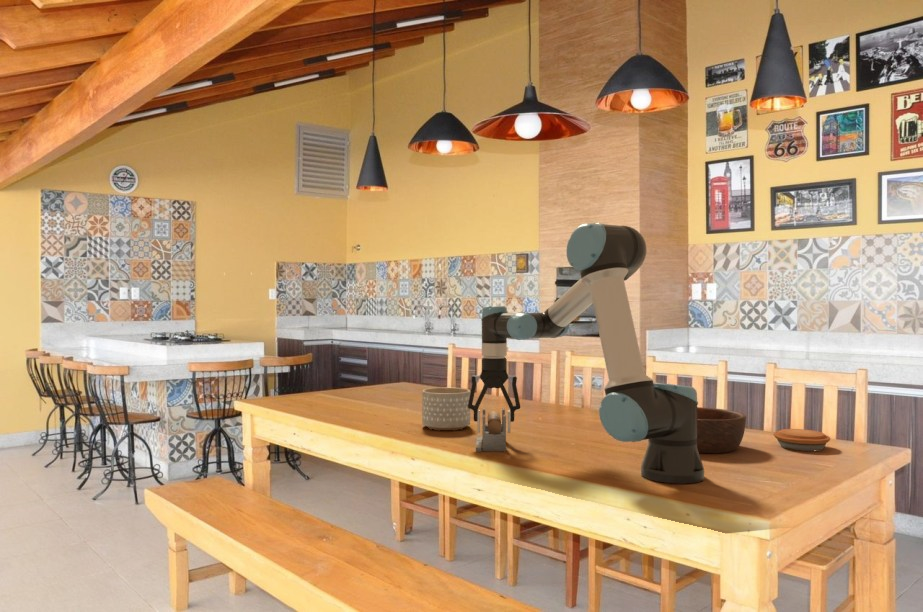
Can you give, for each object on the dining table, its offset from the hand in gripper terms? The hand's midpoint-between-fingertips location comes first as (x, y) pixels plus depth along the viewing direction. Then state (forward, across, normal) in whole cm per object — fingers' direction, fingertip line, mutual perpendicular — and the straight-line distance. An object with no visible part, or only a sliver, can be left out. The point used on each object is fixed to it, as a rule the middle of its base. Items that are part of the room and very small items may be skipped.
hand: (493, 432), depth 217 cm
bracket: (+4, 0, 0) cm, 4 cm away
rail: (-1, +1, 0) cm, 2 cm away
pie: (+4, -92, -2) cm, 92 cm away
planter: (+4, +16, -30) cm, 34 cm away
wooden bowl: (+4, -62, -1) cm, 62 cm away
